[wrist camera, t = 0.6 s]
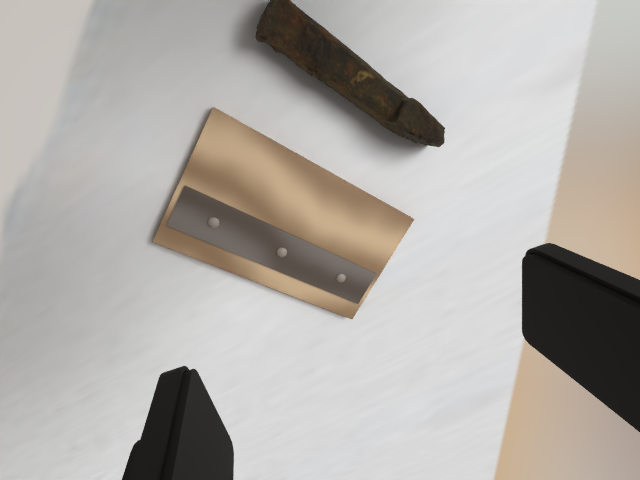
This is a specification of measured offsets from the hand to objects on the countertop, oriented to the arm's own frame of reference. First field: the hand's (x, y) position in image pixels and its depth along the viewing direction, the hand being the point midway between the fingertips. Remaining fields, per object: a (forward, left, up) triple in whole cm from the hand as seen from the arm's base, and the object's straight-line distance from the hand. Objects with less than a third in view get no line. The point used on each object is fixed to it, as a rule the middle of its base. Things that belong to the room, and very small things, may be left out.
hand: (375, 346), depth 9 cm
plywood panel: (+3, +3, -25) cm, 26 cm away
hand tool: (-11, +2, -26) cm, 28 cm away
